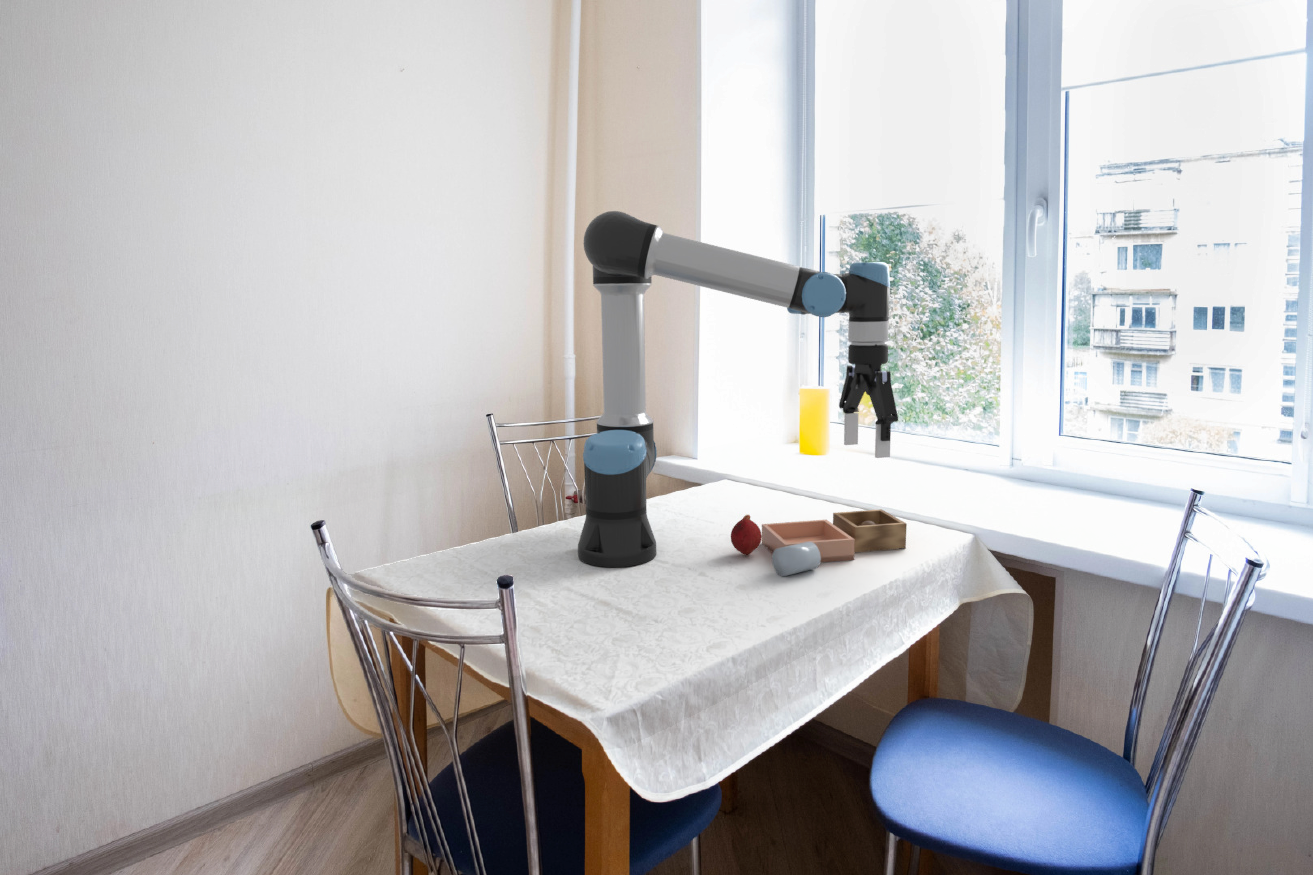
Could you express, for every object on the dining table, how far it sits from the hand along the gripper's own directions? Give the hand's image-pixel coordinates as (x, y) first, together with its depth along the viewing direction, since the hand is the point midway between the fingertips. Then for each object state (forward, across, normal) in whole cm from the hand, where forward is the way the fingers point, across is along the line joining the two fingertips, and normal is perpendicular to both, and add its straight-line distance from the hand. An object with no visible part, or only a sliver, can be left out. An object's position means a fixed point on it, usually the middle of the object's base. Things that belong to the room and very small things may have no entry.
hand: (866, 450), depth 163 cm
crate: (+18, -2, 0) cm, 18 cm away
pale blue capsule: (+18, -15, +21) cm, 31 cm away
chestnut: (+18, -2, 0) cm, 18 cm away
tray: (+18, -5, +14) cm, 24 cm away
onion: (+18, -4, +26) cm, 32 cm away
